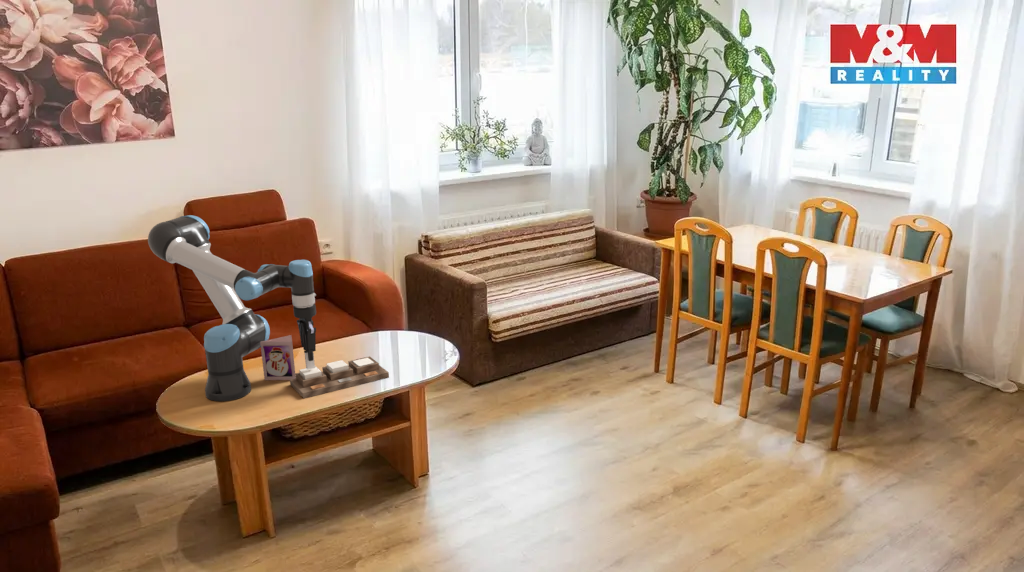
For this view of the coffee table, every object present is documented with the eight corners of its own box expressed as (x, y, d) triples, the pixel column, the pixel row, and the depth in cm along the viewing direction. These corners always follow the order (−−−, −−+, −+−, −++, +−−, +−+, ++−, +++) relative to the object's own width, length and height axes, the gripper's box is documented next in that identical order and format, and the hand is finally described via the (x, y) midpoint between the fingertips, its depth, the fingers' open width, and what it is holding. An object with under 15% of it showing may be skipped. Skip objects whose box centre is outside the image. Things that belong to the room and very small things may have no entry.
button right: (359, 372, 288) (359, 366, 287) (353, 367, 293) (352, 361, 292) (374, 368, 291) (374, 362, 290) (368, 363, 296) (367, 357, 295)
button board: (303, 398, 272) (302, 386, 271) (290, 384, 283) (289, 373, 282) (388, 377, 289) (388, 365, 287) (373, 365, 300) (372, 354, 299)
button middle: (332, 375, 282) (332, 368, 281) (326, 369, 287) (326, 363, 286) (348, 371, 285) (348, 365, 285) (342, 366, 290) (342, 360, 289)
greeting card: (263, 381, 287) (259, 342, 282) (269, 373, 294) (265, 335, 290) (295, 381, 287) (291, 342, 282) (300, 372, 294) (296, 335, 290)
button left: (305, 381, 277) (305, 375, 276) (299, 376, 282) (299, 369, 281) (322, 377, 280) (321, 371, 279) (316, 372, 285) (315, 366, 284)
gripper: (321, 307, 270) (327, 371, 277) (308, 298, 280) (314, 360, 287) (300, 311, 266) (306, 376, 273) (287, 302, 277) (294, 364, 283)
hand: (310, 368), depth 280 cm, fingers closed
